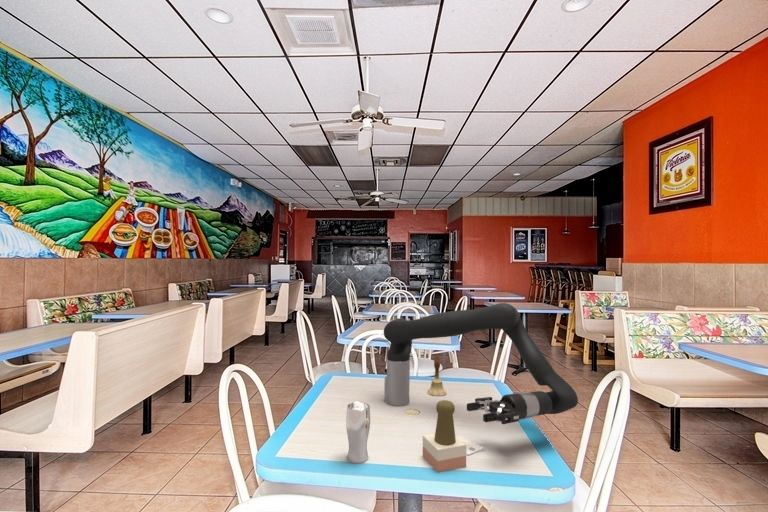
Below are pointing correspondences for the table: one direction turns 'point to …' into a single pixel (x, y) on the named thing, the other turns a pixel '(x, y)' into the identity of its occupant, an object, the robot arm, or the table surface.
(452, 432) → the cork
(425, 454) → the brick base
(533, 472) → the table surface
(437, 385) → the hand bell
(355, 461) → the beer glass
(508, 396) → the robot arm
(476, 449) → the page
